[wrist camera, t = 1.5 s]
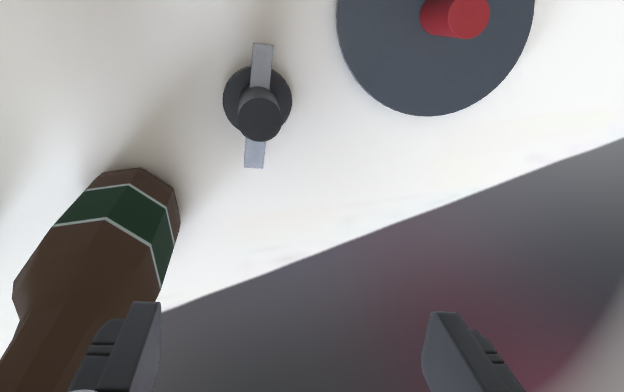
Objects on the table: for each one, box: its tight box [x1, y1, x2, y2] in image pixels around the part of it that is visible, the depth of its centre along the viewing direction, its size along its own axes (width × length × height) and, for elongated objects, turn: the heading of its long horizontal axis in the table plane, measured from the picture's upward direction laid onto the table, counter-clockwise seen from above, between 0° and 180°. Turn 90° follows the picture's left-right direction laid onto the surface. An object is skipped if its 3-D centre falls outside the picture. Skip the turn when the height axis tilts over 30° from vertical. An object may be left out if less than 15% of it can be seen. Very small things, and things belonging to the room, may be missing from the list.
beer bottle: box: [0, 168, 180, 392], centre depth 29 cm, size 8×8×24 cm
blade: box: [223, 43, 292, 169], centre depth 35 cm, size 9×5×8 cm, turn 173°
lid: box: [336, 0, 535, 116], centre depth 34 cm, size 15×15×7 cm
